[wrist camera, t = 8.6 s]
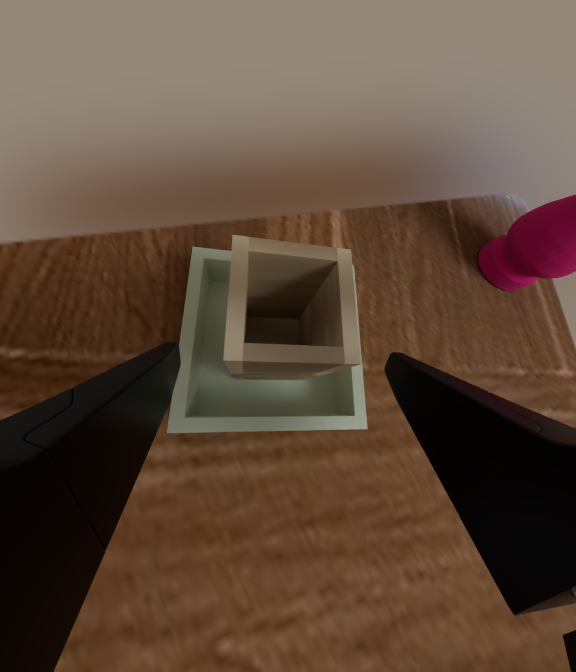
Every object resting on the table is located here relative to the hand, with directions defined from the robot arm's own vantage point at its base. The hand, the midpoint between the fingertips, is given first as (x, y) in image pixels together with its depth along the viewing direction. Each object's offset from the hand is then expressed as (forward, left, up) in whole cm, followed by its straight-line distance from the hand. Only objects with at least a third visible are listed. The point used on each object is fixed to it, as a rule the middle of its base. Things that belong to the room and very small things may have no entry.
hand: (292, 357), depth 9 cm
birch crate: (+1, +2, -8) cm, 9 cm away
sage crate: (+1, +2, -9) cm, 9 cm away
